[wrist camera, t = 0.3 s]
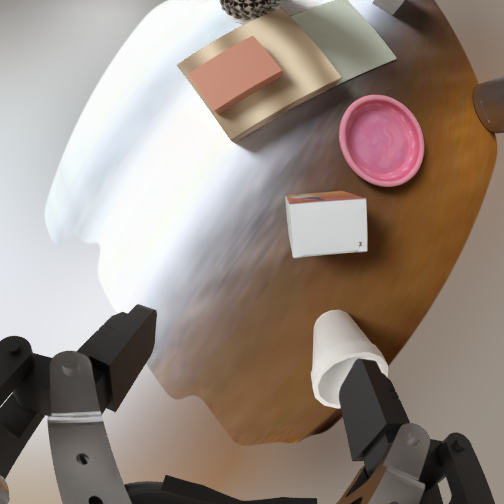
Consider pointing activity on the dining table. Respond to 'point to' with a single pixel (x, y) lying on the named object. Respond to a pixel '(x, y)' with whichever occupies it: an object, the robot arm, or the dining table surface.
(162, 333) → the dining table surface
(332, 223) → the small box
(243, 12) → the decorative candle
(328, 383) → the foam cup
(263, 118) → the panel
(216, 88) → the salmon pink brick
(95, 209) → the dining table surface
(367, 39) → the mat
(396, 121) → the saucer
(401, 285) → the dining table surface
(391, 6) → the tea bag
